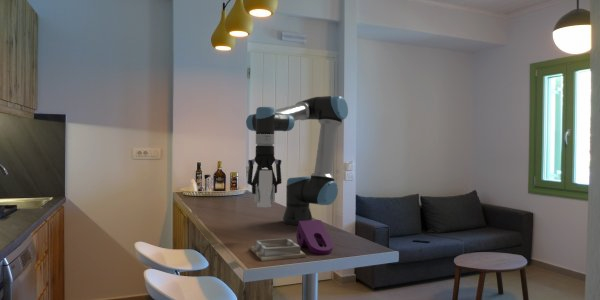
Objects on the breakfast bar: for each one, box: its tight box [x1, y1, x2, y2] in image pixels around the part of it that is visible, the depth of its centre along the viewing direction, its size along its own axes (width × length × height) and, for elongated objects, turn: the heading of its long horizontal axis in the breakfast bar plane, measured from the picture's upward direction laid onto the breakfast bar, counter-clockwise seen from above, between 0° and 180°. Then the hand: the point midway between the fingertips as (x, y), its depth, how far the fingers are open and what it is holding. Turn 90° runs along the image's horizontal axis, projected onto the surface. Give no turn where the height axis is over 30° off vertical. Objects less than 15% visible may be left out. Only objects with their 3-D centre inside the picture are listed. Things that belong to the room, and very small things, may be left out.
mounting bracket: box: [295, 219, 334, 255], centre depth 156 cm, size 9×8×18 cm
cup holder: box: [250, 237, 307, 262], centre depth 148 cm, size 16×16×4 cm
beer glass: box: [256, 168, 274, 209], centre depth 166 cm, size 7×7×15 cm
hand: (264, 201), depth 166 cm, fingers closed on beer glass, 6 cm apart
